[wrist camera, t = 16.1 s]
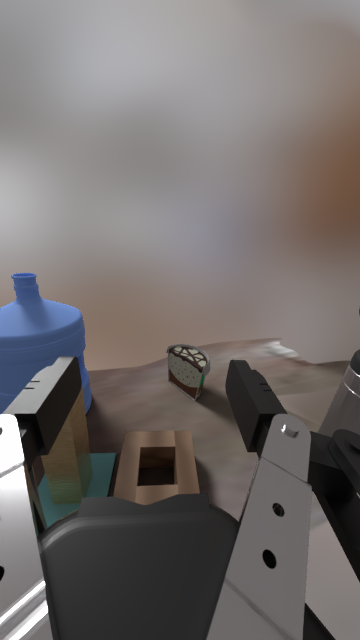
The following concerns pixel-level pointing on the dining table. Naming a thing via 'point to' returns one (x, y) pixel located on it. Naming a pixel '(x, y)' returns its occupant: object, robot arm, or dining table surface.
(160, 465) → the socket block
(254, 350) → the dining table surface
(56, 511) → the teal mat
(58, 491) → the tan wooden peg
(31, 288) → the water jug
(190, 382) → the food container
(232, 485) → the dining table surface
